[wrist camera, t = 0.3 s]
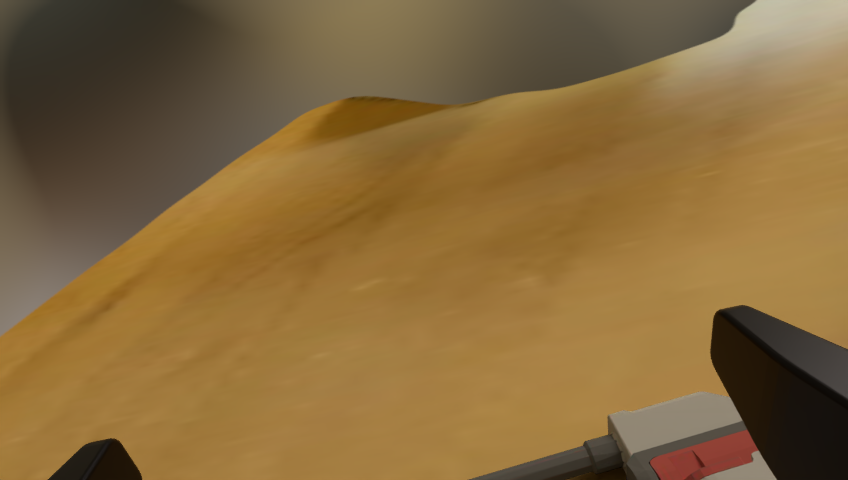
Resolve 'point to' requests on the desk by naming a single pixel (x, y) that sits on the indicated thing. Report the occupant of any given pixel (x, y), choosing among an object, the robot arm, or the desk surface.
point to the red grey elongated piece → (660, 446)
